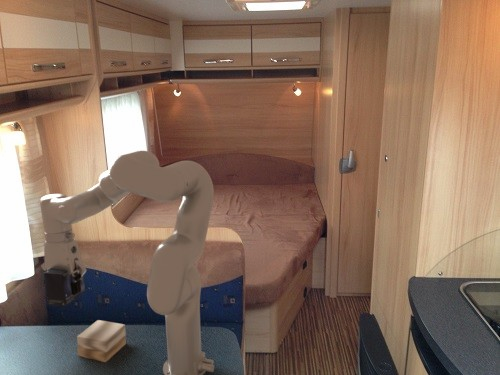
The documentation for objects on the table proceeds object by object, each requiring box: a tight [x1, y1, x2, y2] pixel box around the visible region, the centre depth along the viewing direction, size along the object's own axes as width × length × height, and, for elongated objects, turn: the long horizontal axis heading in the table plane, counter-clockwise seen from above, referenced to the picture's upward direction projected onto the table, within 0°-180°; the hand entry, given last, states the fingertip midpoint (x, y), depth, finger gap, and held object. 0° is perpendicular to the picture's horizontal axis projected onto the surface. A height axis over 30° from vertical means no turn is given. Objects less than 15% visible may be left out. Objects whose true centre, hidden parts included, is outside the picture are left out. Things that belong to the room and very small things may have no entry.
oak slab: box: [76, 335, 127, 363], centre depth 135 cm, size 10×10×4 cm
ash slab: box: [76, 319, 127, 352], centre depth 134 cm, size 10×10×4 cm
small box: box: [43, 268, 86, 307], centre depth 132 cm, size 11×6×10 cm, turn 169°
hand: (66, 291), depth 132 cm, fingers closed on small box, 6 cm apart
